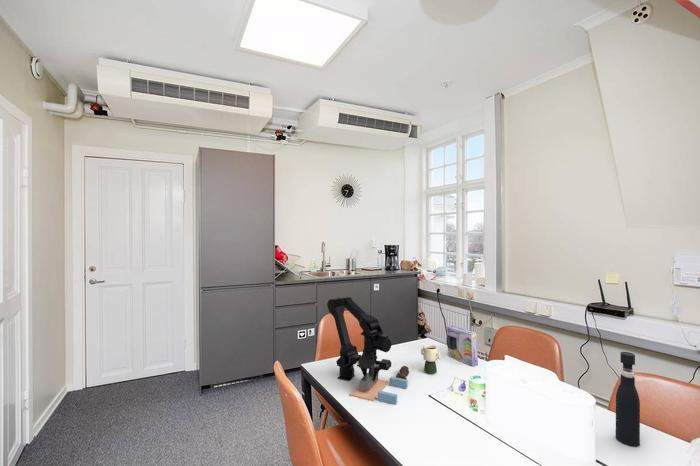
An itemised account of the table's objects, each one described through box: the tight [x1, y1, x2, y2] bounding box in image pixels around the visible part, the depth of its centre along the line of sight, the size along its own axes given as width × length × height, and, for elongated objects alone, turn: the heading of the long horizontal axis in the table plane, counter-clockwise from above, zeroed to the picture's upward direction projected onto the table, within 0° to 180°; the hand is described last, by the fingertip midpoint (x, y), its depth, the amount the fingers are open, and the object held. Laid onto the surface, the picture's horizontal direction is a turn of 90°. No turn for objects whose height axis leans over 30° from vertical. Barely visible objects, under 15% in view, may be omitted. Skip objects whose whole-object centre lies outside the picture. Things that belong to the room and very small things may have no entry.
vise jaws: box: [377, 376, 409, 406], centre depth 147 cm, size 8×18×4 cm, turn 154°
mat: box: [349, 378, 390, 402], centre depth 152 cm, size 11×20×1 cm, turn 154°
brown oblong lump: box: [395, 365, 410, 380], centre depth 164 cm, size 6×5×15 cm
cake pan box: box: [445, 324, 479, 367], centre depth 187 cm, size 19×5×18 cm, turn 28°
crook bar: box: [359, 365, 379, 391], centre depth 152 cm, size 4×12×7 cm, turn 154°
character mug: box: [420, 344, 441, 374], centre depth 170 cm, size 11×7×13 cm, turn 48°
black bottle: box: [615, 351, 641, 448], centre depth 114 cm, size 6×6×30 cm
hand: (370, 380), depth 152 cm, fingers closed on crook bar, 4 cm apart
